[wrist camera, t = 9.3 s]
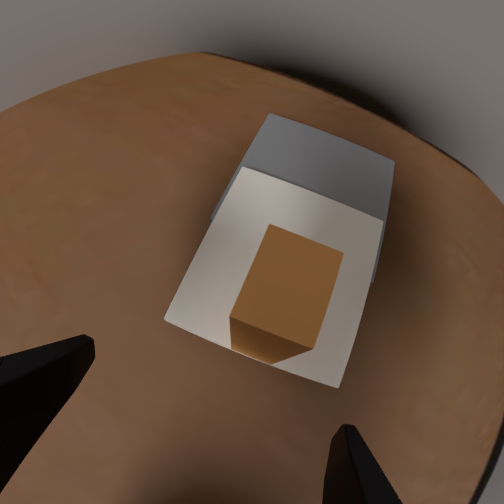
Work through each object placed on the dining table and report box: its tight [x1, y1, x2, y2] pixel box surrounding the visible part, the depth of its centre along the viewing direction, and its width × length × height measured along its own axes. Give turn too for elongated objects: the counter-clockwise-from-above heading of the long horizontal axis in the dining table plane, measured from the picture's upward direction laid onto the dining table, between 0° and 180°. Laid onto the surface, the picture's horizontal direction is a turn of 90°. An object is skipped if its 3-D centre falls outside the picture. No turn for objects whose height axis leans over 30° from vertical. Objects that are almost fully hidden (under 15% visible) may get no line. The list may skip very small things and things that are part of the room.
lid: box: [164, 166, 383, 388], centre depth 15 cm, size 12×11×10 cm
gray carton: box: [210, 113, 395, 285], centre depth 24 cm, size 12×12×2 cm
